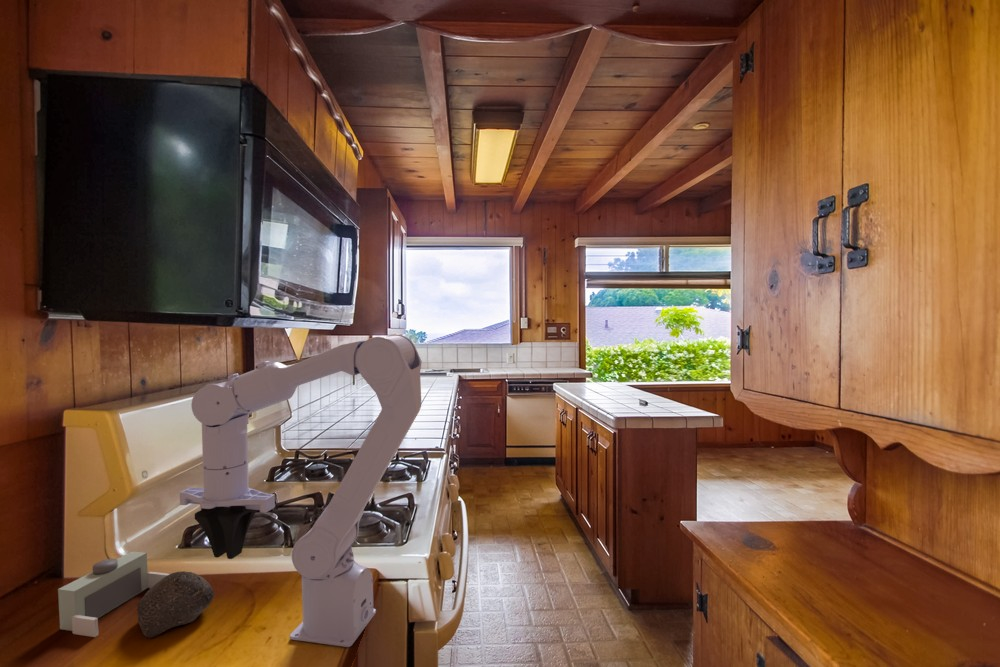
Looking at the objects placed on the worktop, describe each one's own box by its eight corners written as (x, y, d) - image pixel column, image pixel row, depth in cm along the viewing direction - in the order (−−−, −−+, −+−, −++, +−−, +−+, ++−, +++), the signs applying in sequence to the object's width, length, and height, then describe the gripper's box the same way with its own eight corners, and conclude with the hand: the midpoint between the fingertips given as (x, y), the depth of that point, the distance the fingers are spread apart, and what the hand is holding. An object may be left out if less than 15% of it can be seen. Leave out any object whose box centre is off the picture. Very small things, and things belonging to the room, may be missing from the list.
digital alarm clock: (170, 588, 79) (168, 547, 79) (94, 637, 67) (92, 589, 67) (136, 584, 80) (134, 544, 80) (56, 631, 68) (53, 584, 68)
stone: (130, 652, 69) (121, 634, 63) (147, 589, 75) (140, 567, 68) (208, 642, 73) (206, 624, 67) (218, 583, 79) (218, 562, 73)
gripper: (159, 469, 66) (162, 563, 67) (249, 476, 63) (251, 574, 64) (201, 454, 73) (203, 540, 74) (283, 460, 70) (285, 549, 71)
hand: (228, 554), depth 69 cm, fingers closed
